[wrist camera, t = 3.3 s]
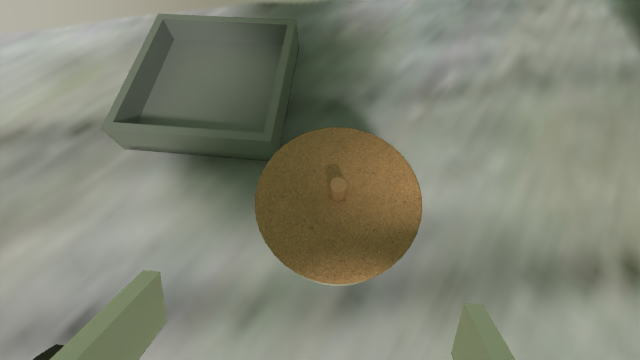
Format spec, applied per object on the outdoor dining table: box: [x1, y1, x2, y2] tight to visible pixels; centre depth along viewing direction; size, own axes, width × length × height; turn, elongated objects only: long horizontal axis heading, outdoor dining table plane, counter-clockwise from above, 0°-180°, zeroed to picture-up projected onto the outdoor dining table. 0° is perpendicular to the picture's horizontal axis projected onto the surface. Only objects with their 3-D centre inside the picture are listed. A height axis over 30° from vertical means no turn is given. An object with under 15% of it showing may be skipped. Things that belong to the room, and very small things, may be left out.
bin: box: [101, 14, 299, 161], centre depth 32 cm, size 16×16×4 cm
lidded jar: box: [255, 127, 422, 286], centre depth 22 cm, size 11×11×9 cm
